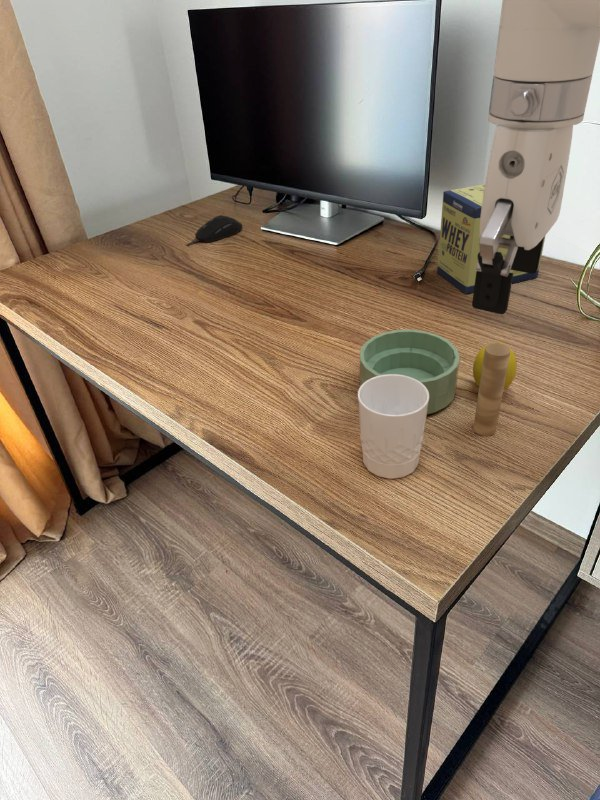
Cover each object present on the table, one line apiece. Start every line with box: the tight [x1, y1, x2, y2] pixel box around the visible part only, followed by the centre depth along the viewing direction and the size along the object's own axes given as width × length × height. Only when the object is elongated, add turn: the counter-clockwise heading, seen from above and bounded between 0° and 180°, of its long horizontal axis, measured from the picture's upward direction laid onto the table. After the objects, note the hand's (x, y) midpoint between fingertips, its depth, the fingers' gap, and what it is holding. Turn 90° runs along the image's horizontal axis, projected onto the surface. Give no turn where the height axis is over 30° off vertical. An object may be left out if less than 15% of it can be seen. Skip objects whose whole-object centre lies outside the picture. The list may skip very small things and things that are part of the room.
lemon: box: [472, 341, 518, 391], centre depth 78 cm, size 6×6×8 cm
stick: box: [472, 342, 511, 437], centre depth 71 cm, size 3×3×12 cm
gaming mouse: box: [186, 214, 243, 247], centre depth 133 cm, size 6×15×4 cm, turn 131°
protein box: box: [436, 183, 547, 295], centre depth 105 cm, size 10×16×16 cm
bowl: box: [359, 329, 461, 415], centre depth 81 cm, size 13×13×6 cm
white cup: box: [357, 374, 429, 480], centre depth 68 cm, size 8×8×10 cm
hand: (505, 289), depth 58 cm, fingers open, 9 cm apart
